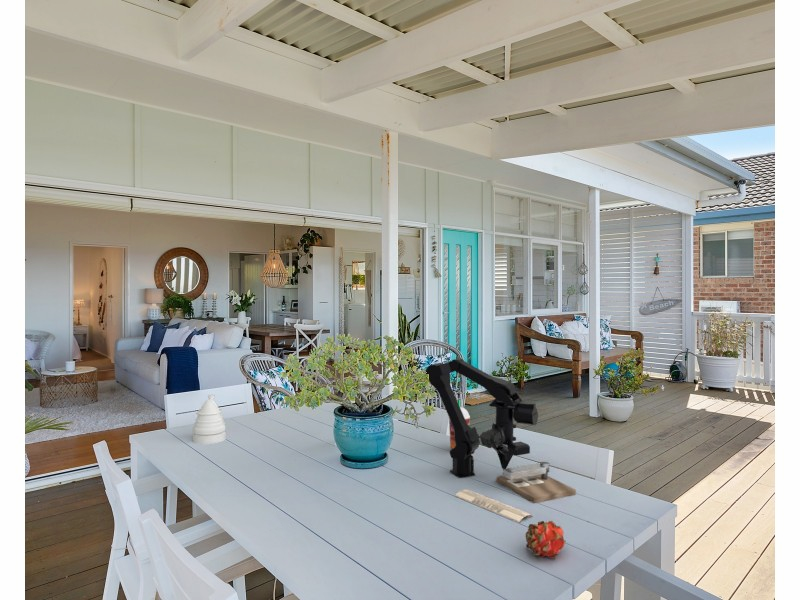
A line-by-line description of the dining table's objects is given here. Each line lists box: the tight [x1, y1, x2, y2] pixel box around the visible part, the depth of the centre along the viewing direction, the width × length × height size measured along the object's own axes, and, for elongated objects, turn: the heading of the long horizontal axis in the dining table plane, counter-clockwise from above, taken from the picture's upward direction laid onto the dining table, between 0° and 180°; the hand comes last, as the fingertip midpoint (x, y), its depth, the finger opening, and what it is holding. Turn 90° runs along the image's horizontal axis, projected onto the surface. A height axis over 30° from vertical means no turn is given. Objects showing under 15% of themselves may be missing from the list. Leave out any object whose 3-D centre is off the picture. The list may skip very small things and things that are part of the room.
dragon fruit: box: [525, 520, 566, 560], centre depth 124 cm, size 8×8×12 cm
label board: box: [496, 472, 577, 504], centre depth 165 cm, size 16×19×4 cm
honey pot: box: [192, 394, 227, 445], centre depth 216 cm, size 13×13×18 cm
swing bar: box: [502, 461, 550, 480], centre depth 166 cm, size 16×4×2 cm, turn 115°
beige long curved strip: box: [454, 489, 533, 524], centre depth 151 cm, size 24×7×2 cm, turn 41°
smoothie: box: [448, 399, 471, 450], centre depth 202 cm, size 8×8×20 cm
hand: (504, 468), depth 169 cm, fingers closed
